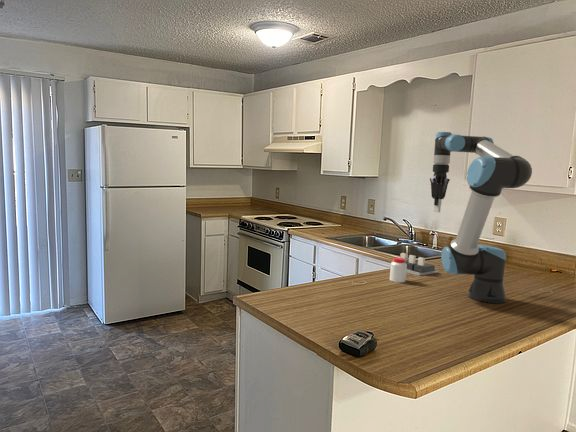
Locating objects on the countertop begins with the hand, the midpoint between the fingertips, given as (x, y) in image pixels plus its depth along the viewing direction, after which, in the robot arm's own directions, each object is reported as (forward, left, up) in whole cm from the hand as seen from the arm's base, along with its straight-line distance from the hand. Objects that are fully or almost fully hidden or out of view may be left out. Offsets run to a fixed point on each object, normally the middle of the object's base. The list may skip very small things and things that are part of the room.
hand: (436, 212), depth 217 cm
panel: (+17, -9, -34) cm, 39 cm away
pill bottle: (+7, +17, -35) cm, 39 cm away
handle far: (+11, -6, -30) cm, 32 cm away
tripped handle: (+23, -6, -30) cm, 38 cm away
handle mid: (+17, -6, -30) cm, 35 cm away
